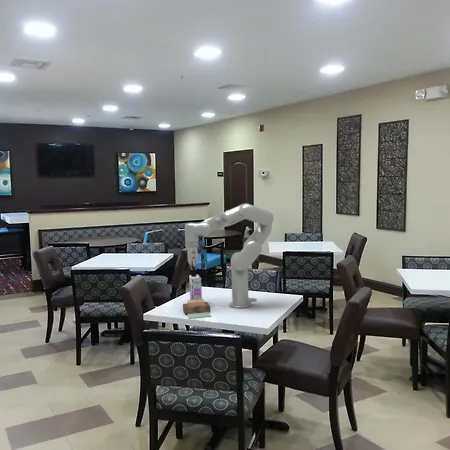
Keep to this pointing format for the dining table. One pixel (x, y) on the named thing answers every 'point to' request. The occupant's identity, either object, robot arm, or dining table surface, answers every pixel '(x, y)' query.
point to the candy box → (195, 287)
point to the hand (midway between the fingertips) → (193, 275)
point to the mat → (199, 315)
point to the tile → (196, 302)
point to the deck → (196, 309)
